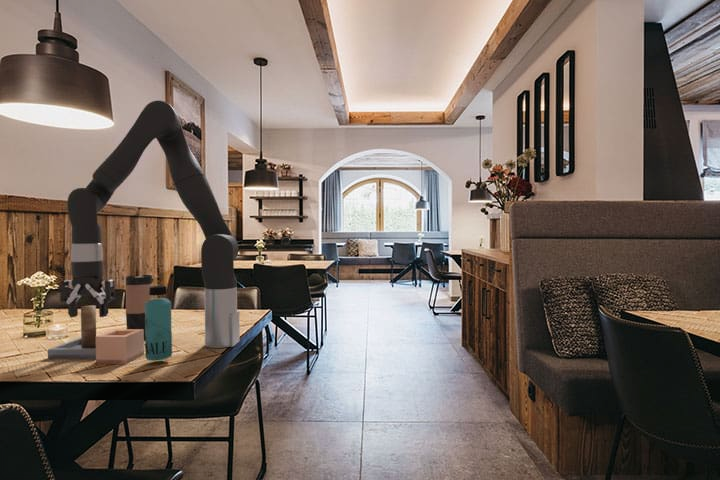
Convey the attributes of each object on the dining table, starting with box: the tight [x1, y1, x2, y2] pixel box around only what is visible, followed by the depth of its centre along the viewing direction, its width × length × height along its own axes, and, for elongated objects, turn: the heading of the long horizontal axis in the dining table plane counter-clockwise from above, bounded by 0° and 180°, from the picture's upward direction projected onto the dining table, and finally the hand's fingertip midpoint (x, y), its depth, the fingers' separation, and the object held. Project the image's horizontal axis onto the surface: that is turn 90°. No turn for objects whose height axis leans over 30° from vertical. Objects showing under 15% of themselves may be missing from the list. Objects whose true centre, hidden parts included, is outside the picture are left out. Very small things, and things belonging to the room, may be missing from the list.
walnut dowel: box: [80, 304, 97, 348], centre depth 113 cm, size 4×4×12 cm
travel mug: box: [125, 274, 154, 341], centre depth 128 cm, size 8×8×20 cm
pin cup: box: [95, 328, 145, 365], centre depth 107 cm, size 8×8×7 cm
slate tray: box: [47, 337, 96, 360], centre depth 114 cm, size 14×12×2 cm
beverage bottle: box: [144, 285, 174, 361], centre depth 104 cm, size 6×7×20 cm
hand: (88, 316), depth 113 cm, fingers open, 8 cm apart
